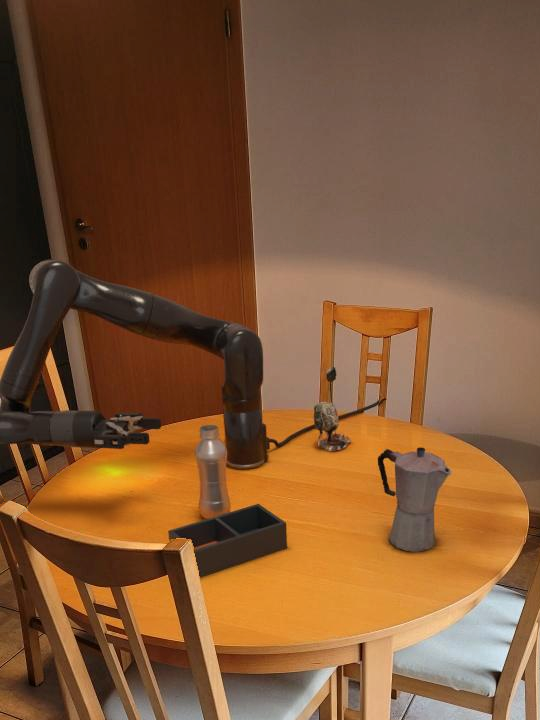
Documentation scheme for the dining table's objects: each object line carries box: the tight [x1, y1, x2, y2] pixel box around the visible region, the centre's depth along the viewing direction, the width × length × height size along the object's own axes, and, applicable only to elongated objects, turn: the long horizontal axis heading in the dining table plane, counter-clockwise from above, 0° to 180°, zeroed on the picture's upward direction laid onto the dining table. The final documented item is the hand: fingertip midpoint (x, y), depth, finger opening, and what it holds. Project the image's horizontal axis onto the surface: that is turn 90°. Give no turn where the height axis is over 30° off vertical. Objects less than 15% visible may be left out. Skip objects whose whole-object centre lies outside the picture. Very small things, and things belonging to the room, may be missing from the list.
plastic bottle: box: [194, 424, 231, 520], centre depth 162 cm, size 6×7×20 cm
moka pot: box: [377, 446, 453, 553], centre depth 150 cm, size 10×15×20 cm, turn 58°
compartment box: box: [167, 503, 288, 578], centre depth 152 cm, size 10×20×6 cm, turn 123°
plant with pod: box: [313, 365, 352, 452], centre depth 196 cm, size 8×11×20 cm
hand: (154, 430), depth 160 cm, fingers open, 8 cm apart
